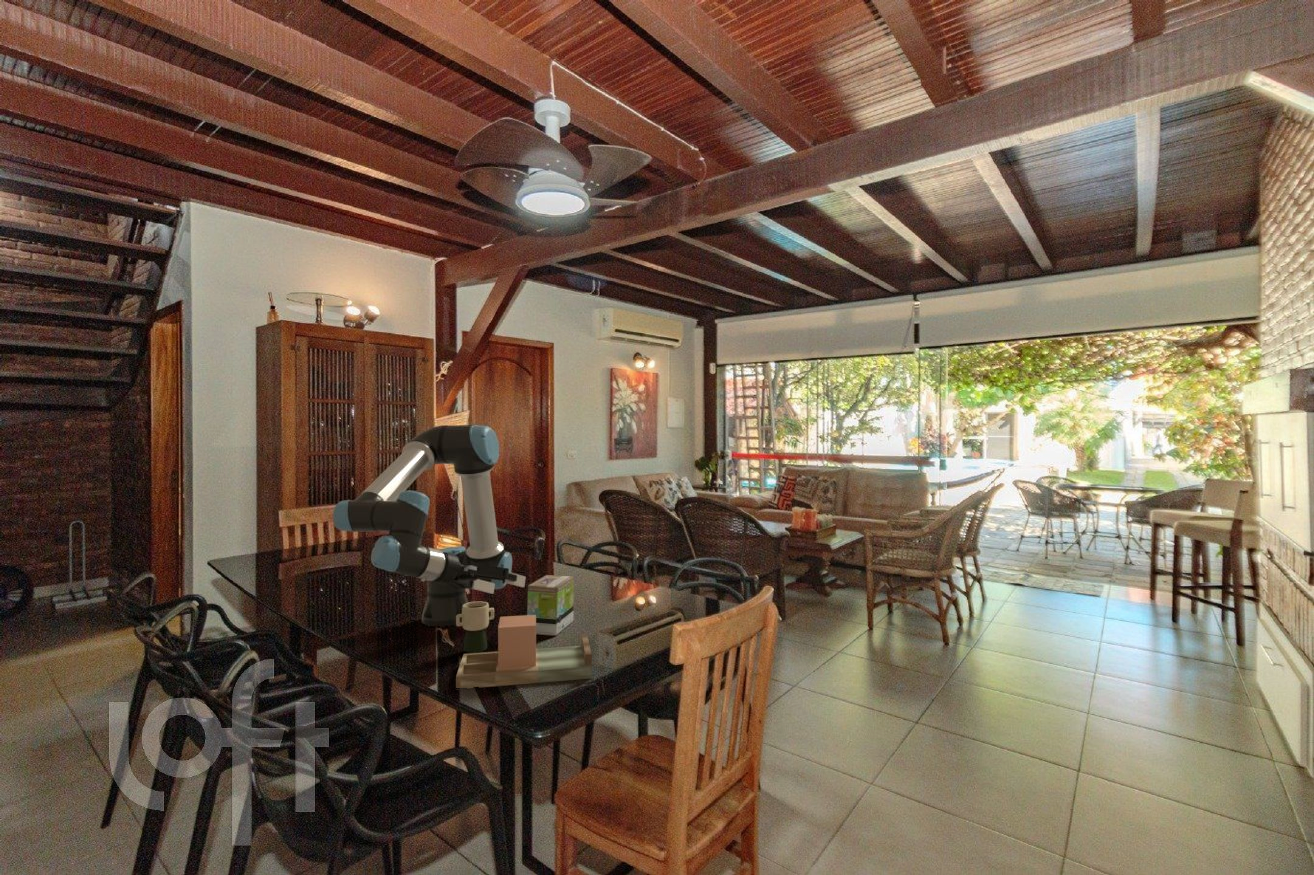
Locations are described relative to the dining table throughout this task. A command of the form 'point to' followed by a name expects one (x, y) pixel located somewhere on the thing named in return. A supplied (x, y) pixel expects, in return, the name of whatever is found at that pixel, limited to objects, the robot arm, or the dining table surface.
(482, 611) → the character mug
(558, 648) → the trap deck
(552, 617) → the tea box
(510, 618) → the terracotta block
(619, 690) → the dining table surface
